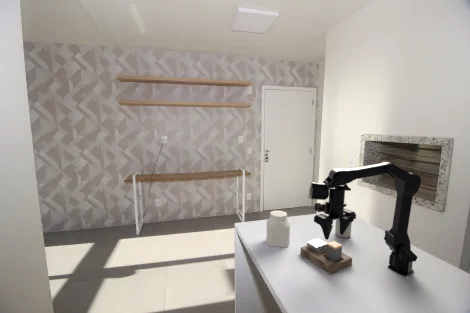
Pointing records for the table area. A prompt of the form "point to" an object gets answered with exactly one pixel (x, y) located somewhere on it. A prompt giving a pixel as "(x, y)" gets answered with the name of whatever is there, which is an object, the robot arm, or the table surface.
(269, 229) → the jar
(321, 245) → the panel
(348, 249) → the table surface
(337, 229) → the can
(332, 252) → the plug
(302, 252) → the socket board
